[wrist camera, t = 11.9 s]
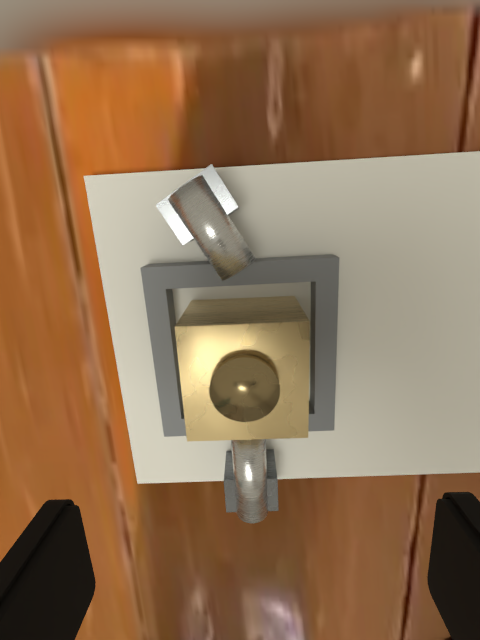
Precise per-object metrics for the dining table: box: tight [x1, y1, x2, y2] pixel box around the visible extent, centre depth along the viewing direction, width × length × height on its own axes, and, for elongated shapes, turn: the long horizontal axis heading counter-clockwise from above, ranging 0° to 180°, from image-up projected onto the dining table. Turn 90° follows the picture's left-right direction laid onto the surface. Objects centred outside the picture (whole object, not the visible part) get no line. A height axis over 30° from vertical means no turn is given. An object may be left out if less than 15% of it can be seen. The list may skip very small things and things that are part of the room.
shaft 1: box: [156, 164, 256, 281], centre depth 17 cm, size 5×3×4 cm
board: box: [84, 151, 480, 483], centre depth 20 cm, size 26×20×2 cm
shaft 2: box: [224, 439, 278, 523], centre depth 21 cm, size 6×3×4 cm, turn 3°
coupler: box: [175, 296, 310, 441], centre depth 18 cm, size 6×6×6 cm
